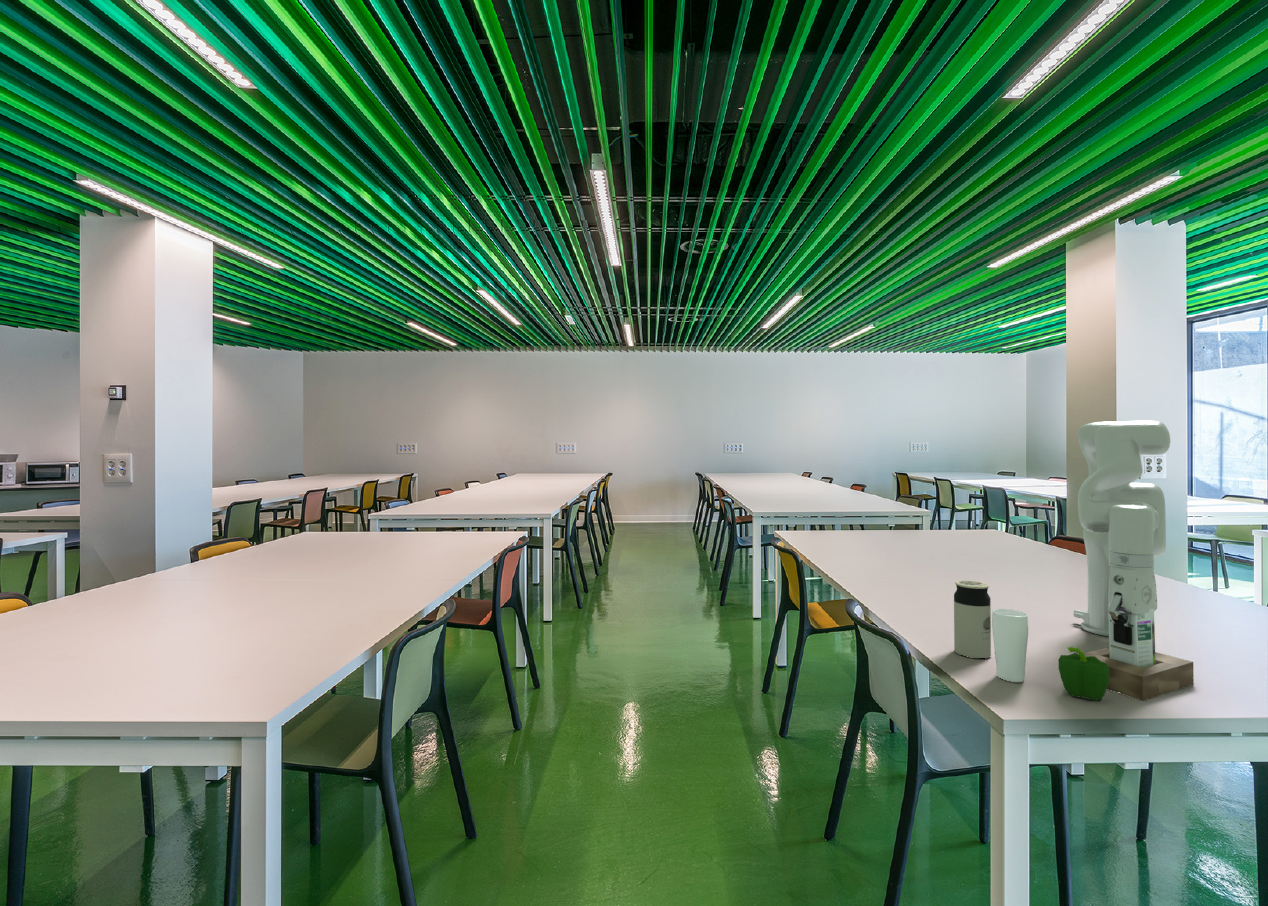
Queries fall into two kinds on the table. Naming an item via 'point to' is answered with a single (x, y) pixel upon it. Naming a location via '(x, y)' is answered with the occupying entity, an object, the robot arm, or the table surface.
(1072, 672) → the bell pepper
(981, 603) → the travel mug
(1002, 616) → the drinking glass
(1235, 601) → the table surface
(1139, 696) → the walnut socket block
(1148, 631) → the syrup box
